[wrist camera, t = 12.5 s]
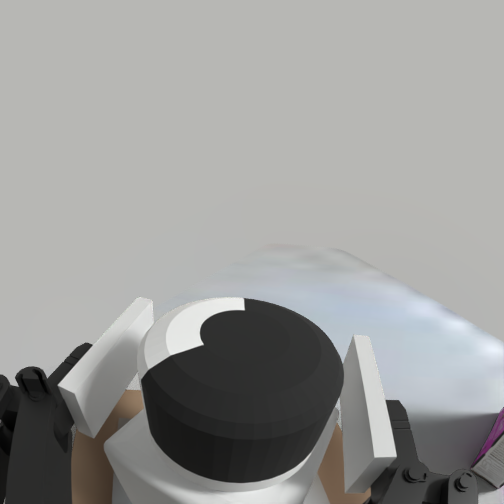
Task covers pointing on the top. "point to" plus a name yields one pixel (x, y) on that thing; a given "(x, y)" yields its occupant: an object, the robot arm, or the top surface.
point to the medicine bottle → (229, 406)
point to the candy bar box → (492, 455)
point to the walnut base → (115, 498)
